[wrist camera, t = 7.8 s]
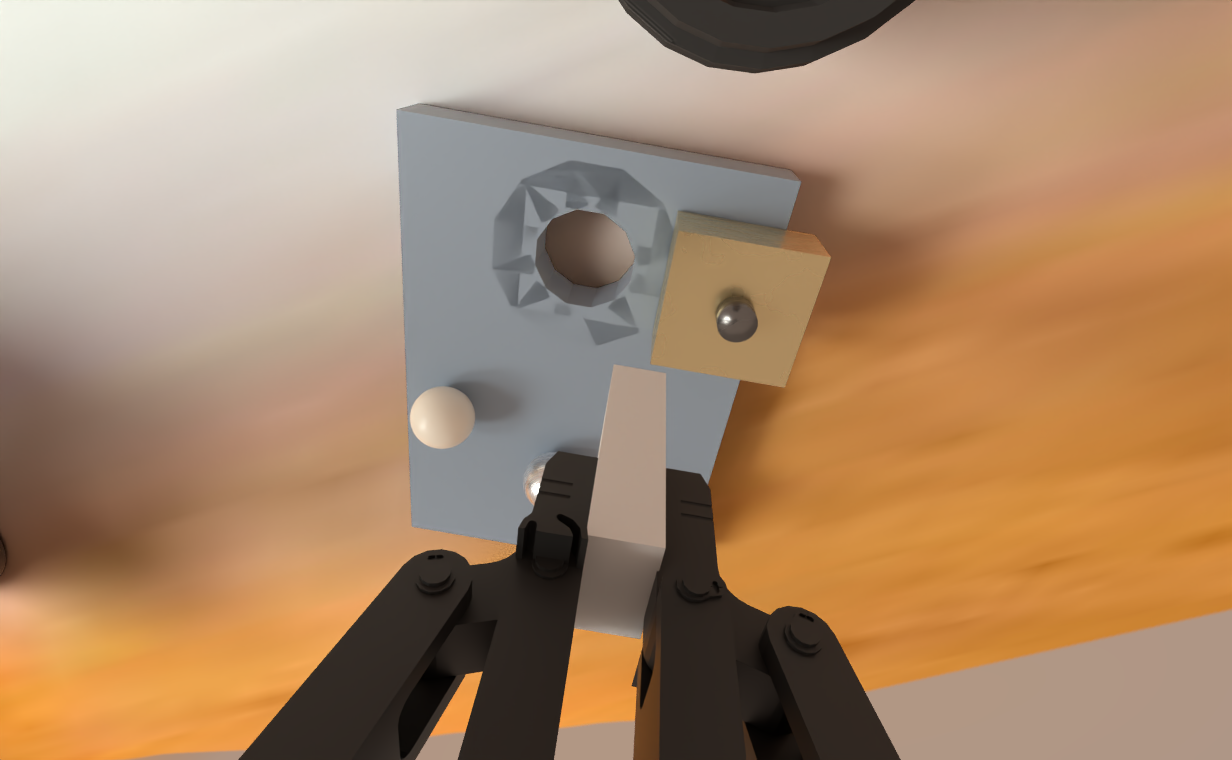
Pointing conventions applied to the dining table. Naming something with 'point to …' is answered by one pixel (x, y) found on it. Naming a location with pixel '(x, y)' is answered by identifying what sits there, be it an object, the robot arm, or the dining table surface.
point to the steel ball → (535, 475)
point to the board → (545, 298)
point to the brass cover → (736, 298)
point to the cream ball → (442, 417)
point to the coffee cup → (760, 29)
